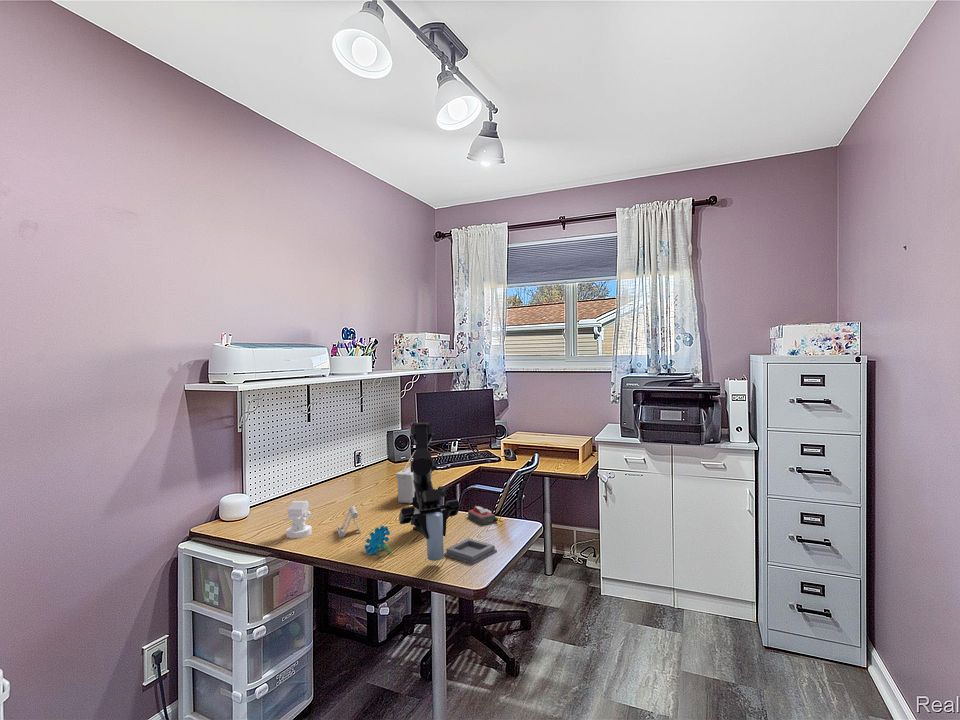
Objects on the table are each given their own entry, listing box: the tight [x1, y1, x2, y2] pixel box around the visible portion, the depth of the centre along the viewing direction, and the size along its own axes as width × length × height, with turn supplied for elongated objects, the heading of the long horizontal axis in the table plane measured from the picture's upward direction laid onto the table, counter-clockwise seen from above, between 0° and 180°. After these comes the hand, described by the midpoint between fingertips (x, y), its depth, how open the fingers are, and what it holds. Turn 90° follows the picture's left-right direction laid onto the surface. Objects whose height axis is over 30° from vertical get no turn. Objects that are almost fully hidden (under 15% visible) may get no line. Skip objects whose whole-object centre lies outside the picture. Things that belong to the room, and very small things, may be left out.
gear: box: [364, 525, 392, 556], centre depth 161 cm, size 11×6×10 cm
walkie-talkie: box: [467, 505, 499, 526], centre depth 193 cm, size 9×4×20 cm
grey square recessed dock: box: [444, 537, 498, 565], centre depth 157 cm, size 12×12×2 cm
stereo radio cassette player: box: [395, 449, 417, 504], centre depth 223 cm, size 21×8×20 cm, turn 163°
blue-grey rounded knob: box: [426, 512, 445, 562], centre depth 148 cm, size 5×5×13 cm
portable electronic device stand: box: [336, 505, 362, 539], centre depth 179 cm, size 9×8×8 cm
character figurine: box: [285, 500, 313, 539], centre depth 178 cm, size 9×10×12 cm
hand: (436, 537), depth 147 cm, fingers closed on blue-grey rounded knob, 5 cm apart
